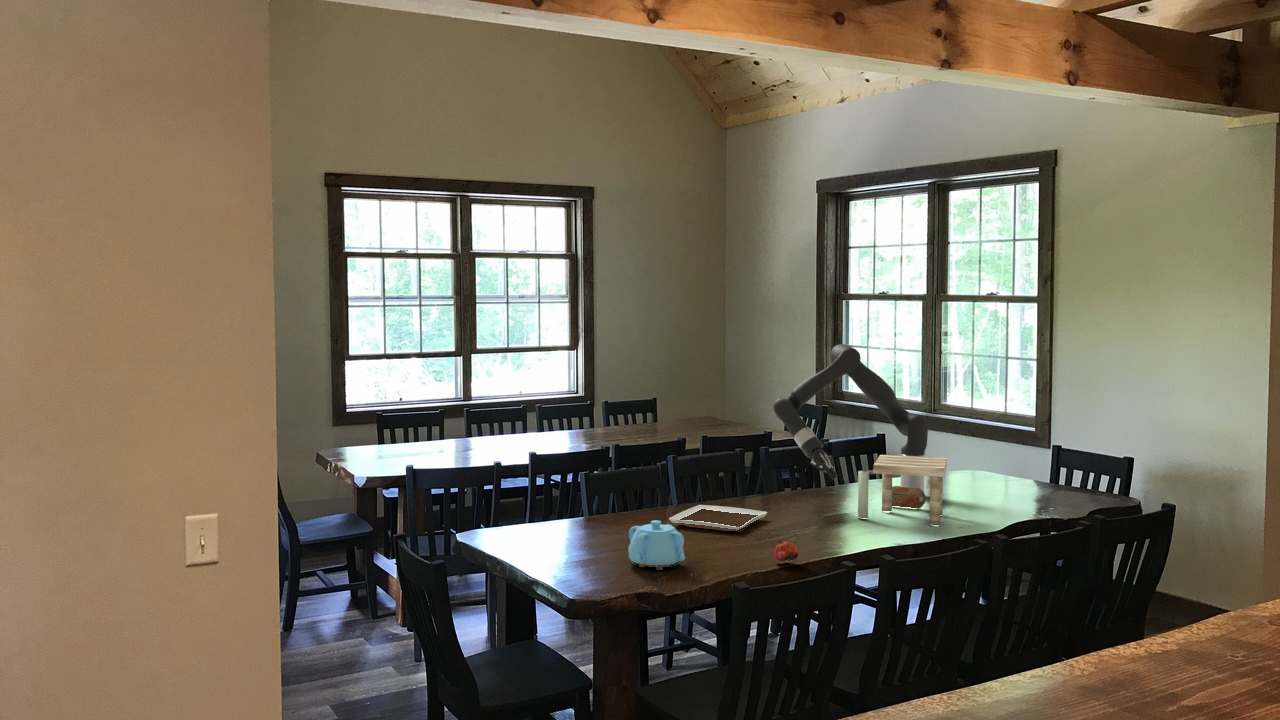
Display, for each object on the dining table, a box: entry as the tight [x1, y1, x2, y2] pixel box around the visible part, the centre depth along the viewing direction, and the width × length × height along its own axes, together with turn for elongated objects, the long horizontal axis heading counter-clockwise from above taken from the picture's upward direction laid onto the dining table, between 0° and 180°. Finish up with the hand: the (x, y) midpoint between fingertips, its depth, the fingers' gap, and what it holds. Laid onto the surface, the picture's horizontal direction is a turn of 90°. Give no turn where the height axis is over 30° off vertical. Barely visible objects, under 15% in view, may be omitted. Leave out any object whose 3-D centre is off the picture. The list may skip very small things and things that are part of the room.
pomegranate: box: [773, 540, 800, 561], centre depth 310 cm, size 7×7×10 cm
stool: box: [872, 454, 948, 526], centre depth 371 cm, size 24×24×21 cm
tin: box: [892, 485, 927, 510], centre depth 391 cm, size 15×3×8 cm, turn 62°
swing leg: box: [857, 469, 877, 519], centre depth 373 cm, size 13×4×17 cm, turn 116°
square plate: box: [668, 504, 768, 530], centre depth 366 cm, size 27×27×4 cm
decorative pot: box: [627, 519, 686, 566], centre depth 309 cm, size 16×16×14 cm
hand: (835, 478), depth 381 cm, fingers closed
